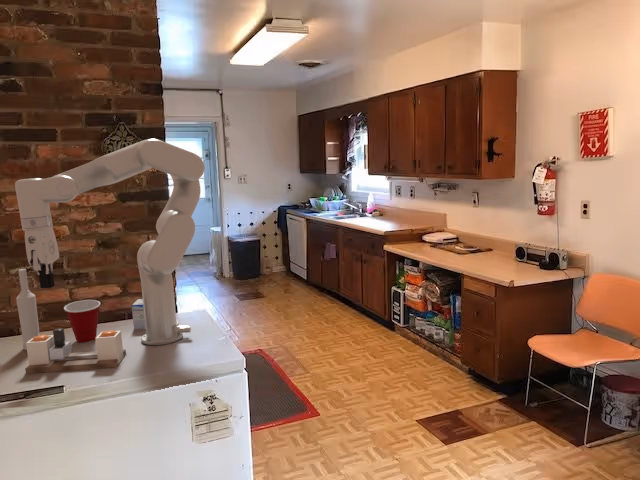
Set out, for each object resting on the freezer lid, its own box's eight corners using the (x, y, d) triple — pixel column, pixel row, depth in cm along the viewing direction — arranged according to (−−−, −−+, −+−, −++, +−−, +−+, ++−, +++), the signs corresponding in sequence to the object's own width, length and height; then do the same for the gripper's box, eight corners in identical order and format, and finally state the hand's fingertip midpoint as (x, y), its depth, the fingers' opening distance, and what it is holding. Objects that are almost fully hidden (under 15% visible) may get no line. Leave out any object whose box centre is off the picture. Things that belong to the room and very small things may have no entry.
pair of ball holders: (123, 357, 153) (120, 330, 152) (118, 364, 148) (115, 336, 147) (38, 363, 152) (35, 336, 150) (29, 370, 146) (26, 342, 145)
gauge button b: (50, 341, 150) (49, 334, 150) (45, 345, 146) (44, 338, 146) (37, 341, 150) (36, 335, 149) (31, 346, 146) (30, 339, 146)
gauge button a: (117, 336, 151) (116, 329, 151) (113, 340, 148) (112, 334, 147) (104, 337, 151) (103, 330, 151) (100, 341, 147) (99, 334, 147)
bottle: (29, 351, 162) (18, 272, 158) (19, 349, 164) (9, 270, 161) (45, 346, 166) (35, 268, 162) (36, 343, 169) (25, 267, 165)
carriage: (72, 351, 152) (69, 326, 151) (63, 358, 146) (60, 332, 145) (59, 351, 152) (56, 326, 151) (50, 359, 146) (47, 333, 145)
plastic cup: (67, 348, 163) (62, 310, 161) (68, 338, 173) (64, 302, 171) (105, 342, 167) (101, 305, 166) (103, 332, 177) (100, 297, 175)
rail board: (126, 354, 155) (125, 346, 155) (115, 367, 146) (114, 358, 145) (42, 360, 154) (41, 351, 153) (25, 373, 144) (24, 364, 144)
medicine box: (139, 322, 187) (137, 299, 185) (152, 321, 187) (150, 298, 186) (133, 329, 179) (131, 305, 178) (147, 328, 179) (144, 304, 178)
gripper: (39, 225, 139) (50, 293, 142) (61, 218, 153) (71, 279, 157) (10, 228, 138) (21, 295, 141) (34, 221, 153) (45, 282, 156)
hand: (47, 287), depth 149 cm, fingers closed
